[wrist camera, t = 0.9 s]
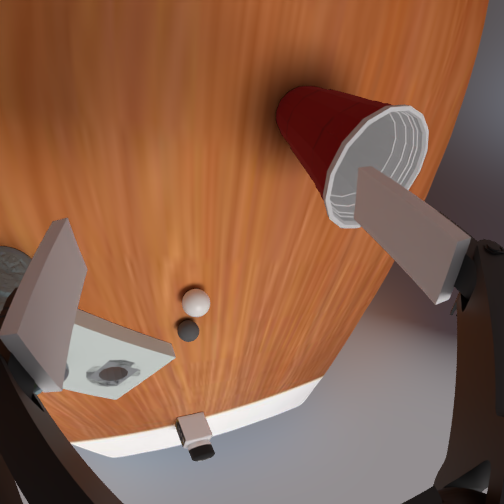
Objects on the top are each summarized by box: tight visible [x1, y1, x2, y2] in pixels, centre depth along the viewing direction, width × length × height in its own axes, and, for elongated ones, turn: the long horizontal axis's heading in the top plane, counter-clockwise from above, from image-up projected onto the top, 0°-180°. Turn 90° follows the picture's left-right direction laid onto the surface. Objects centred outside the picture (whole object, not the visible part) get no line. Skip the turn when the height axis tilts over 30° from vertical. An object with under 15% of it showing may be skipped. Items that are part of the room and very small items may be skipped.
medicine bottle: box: [175, 412, 215, 461], centre depth 70 cm, size 7×7×12 cm
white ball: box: [182, 289, 210, 317], centre depth 39 cm, size 4×4×4 cm
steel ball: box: [64, 362, 69, 381], centre depth 33 cm, size 4×4×4 cm
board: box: [63, 309, 176, 400], centre depth 39 cm, size 20×16×2 cm
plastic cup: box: [276, 86, 429, 228], centre depth 25 cm, size 11×11×12 cm
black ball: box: [178, 320, 199, 342], centre depth 43 cm, size 3×3×3 cm
